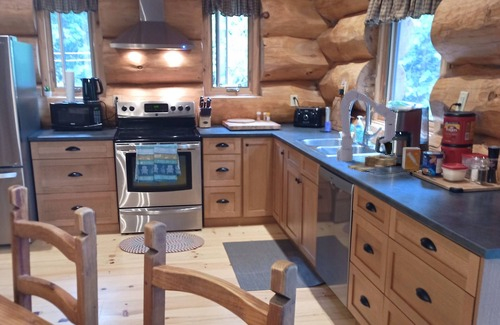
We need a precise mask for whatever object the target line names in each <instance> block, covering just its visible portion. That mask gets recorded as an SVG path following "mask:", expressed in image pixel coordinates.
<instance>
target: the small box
mask: <svg viewBox="0 0 500 325" xmlns="http://www.w3.org/2000/svg"><path fill="white" fill-rule="evenodd" d="M420 161H421V148H420V147H418V146H416V147H415V146H414V147H413V146H412V147H411V146H410V147H409V146H408V147H407V146H405V147H402V160H401V168H402V169H403V172H404V173H415V172H414V171H419V172H420V165H421V164H420V163H421V162H420Z"/></svg>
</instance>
